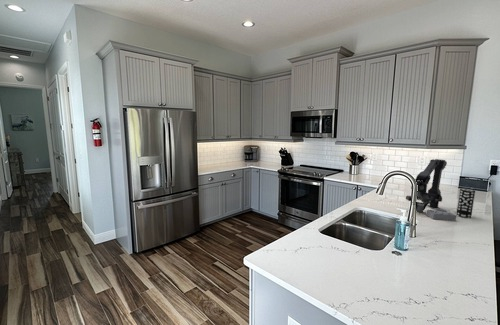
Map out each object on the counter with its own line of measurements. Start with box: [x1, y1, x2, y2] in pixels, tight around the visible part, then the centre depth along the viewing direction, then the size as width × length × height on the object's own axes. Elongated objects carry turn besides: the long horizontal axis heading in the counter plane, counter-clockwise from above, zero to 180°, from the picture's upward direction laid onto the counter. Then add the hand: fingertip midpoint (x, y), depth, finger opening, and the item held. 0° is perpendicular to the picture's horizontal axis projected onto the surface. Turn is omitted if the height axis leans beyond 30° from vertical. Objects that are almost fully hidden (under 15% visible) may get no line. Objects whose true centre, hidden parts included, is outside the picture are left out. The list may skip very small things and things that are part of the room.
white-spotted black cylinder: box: [455, 188, 476, 219], centre depth 175 cm, size 8×8×20 cm
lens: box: [415, 201, 425, 214], centre depth 184 cm, size 5×5×7 cm
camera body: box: [426, 208, 457, 222], centre depth 172 cm, size 9×14×6 cm, turn 78°
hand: (419, 209), depth 184 cm, fingers closed on lens, 5 cm apart
